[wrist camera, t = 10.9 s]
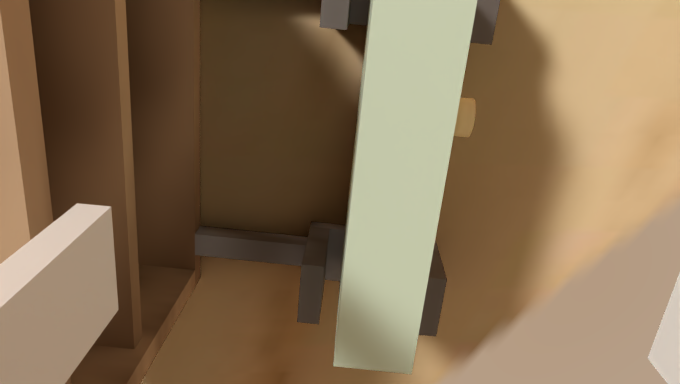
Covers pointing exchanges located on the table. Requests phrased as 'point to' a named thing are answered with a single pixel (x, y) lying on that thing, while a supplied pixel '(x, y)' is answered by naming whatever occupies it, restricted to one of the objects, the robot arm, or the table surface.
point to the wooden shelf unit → (141, 160)
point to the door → (400, 175)
